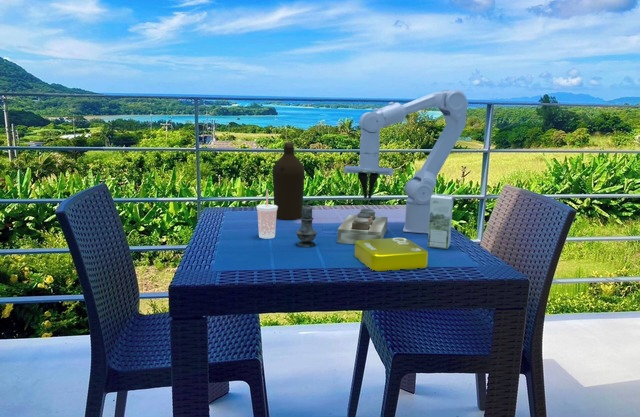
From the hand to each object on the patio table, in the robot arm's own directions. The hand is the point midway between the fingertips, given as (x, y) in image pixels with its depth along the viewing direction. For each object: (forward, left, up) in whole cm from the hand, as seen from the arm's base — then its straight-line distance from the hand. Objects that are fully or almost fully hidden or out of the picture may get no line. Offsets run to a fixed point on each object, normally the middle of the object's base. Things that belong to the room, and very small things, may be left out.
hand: (367, 197), depth 171 cm
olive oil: (+28, -11, -11) cm, 32 cm away
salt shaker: (+14, +21, -11) cm, 27 cm away
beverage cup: (+27, +16, -11) cm, 33 cm away
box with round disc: (0, 0, -8) cm, 8 cm away
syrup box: (-22, +12, -11) cm, 27 cm away
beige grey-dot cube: (0, +7, -8) cm, 10 cm away
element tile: (-10, +30, -11) cm, 33 cm away
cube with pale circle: (0, +13, -8) cm, 15 cm away
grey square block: (0, +7, -10) cm, 12 cm away
